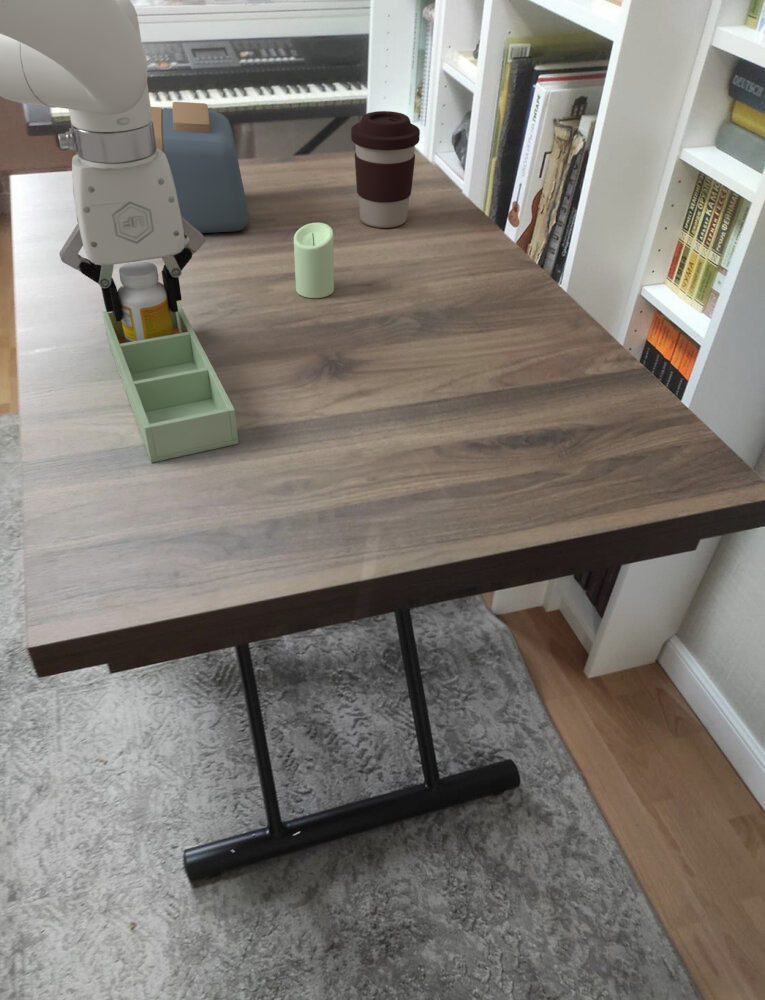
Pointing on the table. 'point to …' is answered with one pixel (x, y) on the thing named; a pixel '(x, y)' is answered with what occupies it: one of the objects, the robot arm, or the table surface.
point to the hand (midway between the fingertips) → (144, 309)
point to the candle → (314, 260)
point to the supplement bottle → (143, 302)
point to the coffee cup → (384, 166)
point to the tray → (173, 390)
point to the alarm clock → (202, 166)
